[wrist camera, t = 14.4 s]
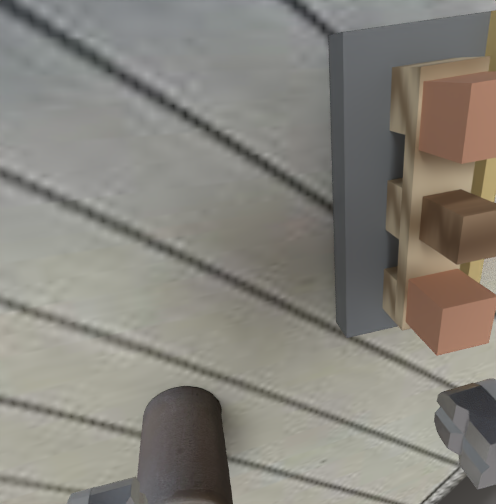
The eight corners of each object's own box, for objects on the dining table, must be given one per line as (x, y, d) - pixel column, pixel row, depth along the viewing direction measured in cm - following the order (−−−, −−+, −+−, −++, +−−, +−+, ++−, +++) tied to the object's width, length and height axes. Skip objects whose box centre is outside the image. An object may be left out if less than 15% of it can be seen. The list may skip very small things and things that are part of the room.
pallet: (392, 67, 31) (469, 65, 23) (454, 57, 31) (551, 52, 23) (382, 308, 41) (432, 364, 33) (428, 297, 42) (489, 351, 34)
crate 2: (408, 279, 35) (442, 309, 31) (457, 268, 36) (498, 296, 31) (405, 321, 37) (436, 355, 33) (451, 311, 38) (488, 343, 34)
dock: (328, 35, 31) (354, 29, 27) (480, 13, 33) (529, 4, 28) (336, 322, 45) (354, 349, 41) (444, 297, 46) (472, 321, 42)
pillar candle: (234, 397, 47) (257, 523, 34) (199, 449, 50) (208, 585, 37) (161, 376, 44) (155, 507, 30) (129, 433, 47) (110, 576, 33)
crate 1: (423, 81, 28) (471, 83, 23) (485, 71, 28) (544, 71, 24) (418, 150, 30) (461, 163, 25) (475, 139, 30) (528, 151, 26)
